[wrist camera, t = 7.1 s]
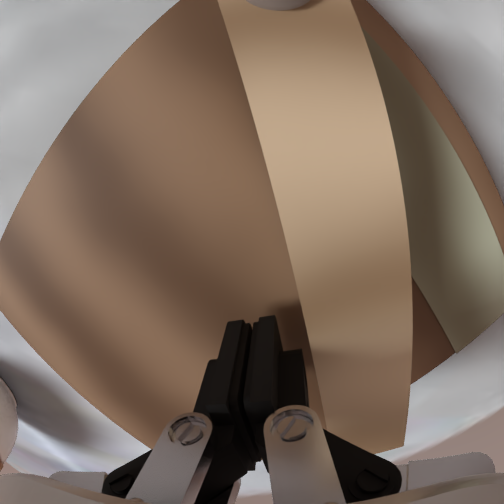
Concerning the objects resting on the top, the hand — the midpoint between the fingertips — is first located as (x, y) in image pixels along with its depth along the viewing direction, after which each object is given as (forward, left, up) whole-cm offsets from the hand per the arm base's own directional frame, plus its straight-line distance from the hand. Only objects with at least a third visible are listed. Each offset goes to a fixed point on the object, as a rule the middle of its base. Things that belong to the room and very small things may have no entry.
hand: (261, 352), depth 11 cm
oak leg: (-4, -1, -1) cm, 5 cm away
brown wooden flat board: (0, -2, -4) cm, 5 cm away
